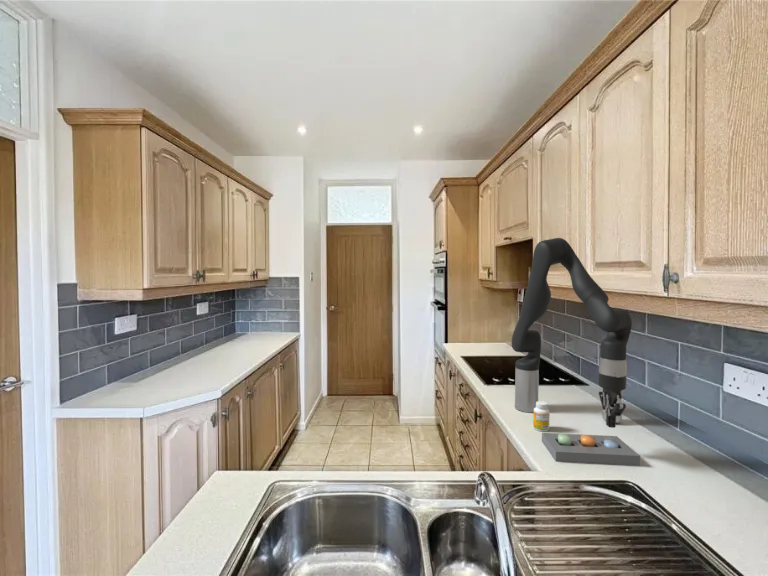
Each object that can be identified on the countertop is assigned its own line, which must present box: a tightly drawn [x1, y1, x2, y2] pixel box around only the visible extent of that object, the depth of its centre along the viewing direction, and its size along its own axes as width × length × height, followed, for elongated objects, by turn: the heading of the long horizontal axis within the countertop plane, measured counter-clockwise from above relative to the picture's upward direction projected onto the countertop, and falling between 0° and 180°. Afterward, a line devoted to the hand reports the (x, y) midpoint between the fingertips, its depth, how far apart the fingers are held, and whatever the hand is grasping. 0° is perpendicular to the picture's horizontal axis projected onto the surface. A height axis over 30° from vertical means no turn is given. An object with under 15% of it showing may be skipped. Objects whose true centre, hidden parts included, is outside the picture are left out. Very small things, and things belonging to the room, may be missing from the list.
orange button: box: [581, 434, 595, 447], centre depth 123 cm, size 4×4×2 cm
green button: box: [558, 433, 572, 446], centre depth 123 cm, size 4×4×2 cm
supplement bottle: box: [532, 400, 550, 433], centre depth 141 cm, size 5×5×10 cm
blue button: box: [604, 440, 618, 448], centre depth 122 cm, size 4×4×2 cm
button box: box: [541, 432, 641, 467], centre depth 123 cm, size 14×24×3 cm, turn 84°
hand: (610, 426), depth 122 cm, fingers closed
